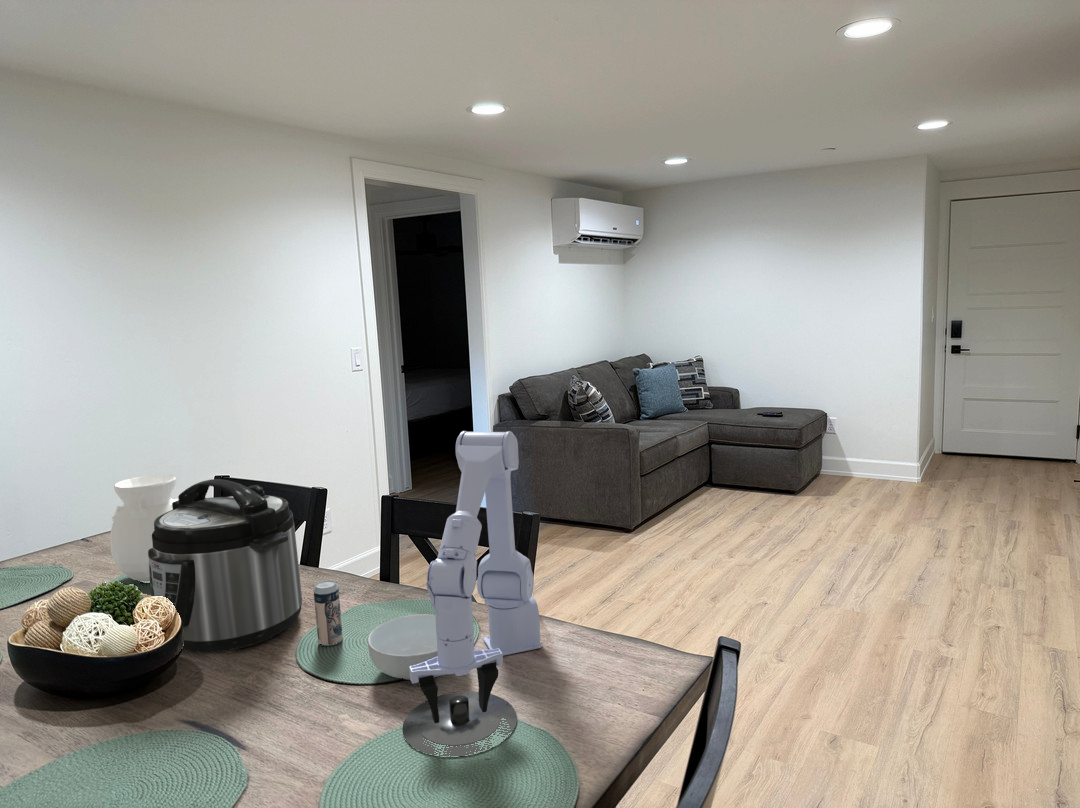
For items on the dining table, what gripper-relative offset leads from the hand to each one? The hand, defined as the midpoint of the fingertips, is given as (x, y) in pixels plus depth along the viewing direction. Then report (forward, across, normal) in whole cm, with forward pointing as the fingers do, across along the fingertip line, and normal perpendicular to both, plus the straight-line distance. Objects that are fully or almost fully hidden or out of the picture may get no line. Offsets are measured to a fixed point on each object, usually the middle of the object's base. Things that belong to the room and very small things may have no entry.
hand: (459, 714), depth 118 cm
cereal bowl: (+2, -3, +20) cm, 20 cm away
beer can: (+2, -17, +38) cm, 42 cm away
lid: (+2, 0, 0) cm, 2 cm away
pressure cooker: (+2, -36, +53) cm, 64 cm away
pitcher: (+2, -55, +94) cm, 109 cm away
